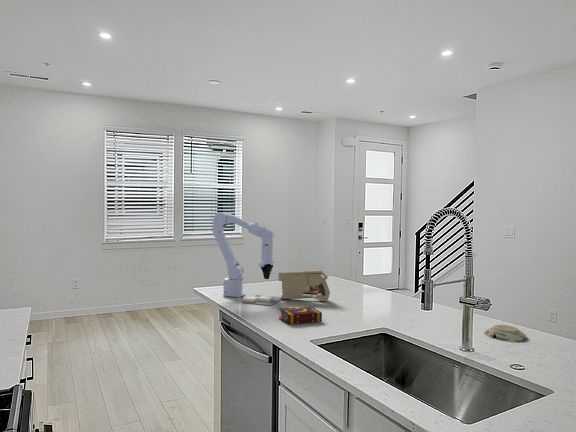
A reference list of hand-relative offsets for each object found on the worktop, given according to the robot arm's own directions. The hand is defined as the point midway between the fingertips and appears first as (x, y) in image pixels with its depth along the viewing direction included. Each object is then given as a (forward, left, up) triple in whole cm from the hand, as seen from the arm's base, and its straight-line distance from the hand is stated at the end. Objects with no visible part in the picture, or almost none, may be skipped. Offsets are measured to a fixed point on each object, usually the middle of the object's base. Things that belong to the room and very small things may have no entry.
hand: (266, 278), depth 229 cm
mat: (+2, -8, -9) cm, 13 cm away
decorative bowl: (+109, -25, -10) cm, 112 cm away
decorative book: (+30, -35, -10) cm, 47 cm away
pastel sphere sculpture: (+12, +28, -10) cm, 32 cm away
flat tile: (-3, -13, -9) cm, 16 cm away
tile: (+3, -6, -8) cm, 11 cm away
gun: (+20, +1, -9) cm, 22 cm away
